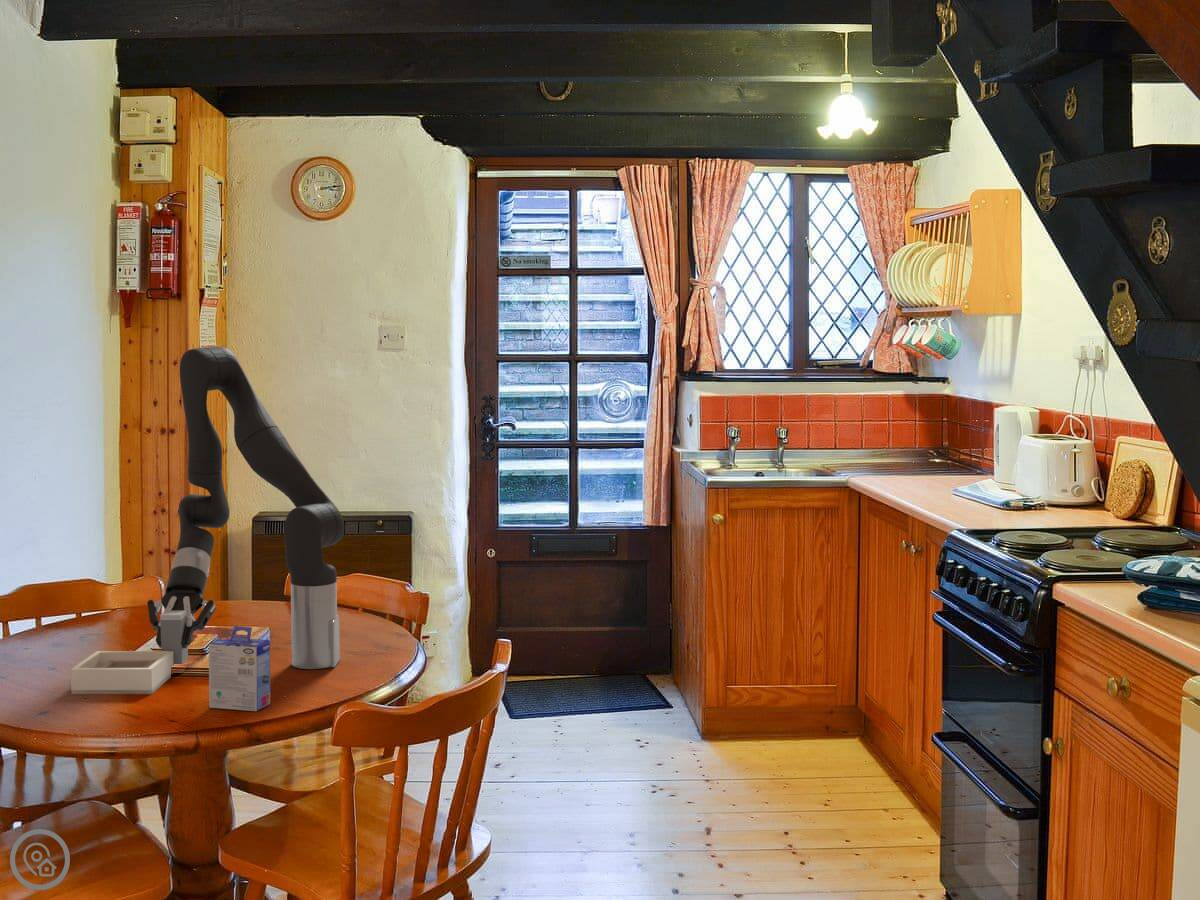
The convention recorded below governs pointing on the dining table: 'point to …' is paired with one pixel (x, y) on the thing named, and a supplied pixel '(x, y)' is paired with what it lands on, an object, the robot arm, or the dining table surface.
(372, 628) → the dining table surface
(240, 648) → the ink cartridge box
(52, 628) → the dining table surface
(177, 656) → the plug
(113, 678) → the caddy
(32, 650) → the dining table surface
